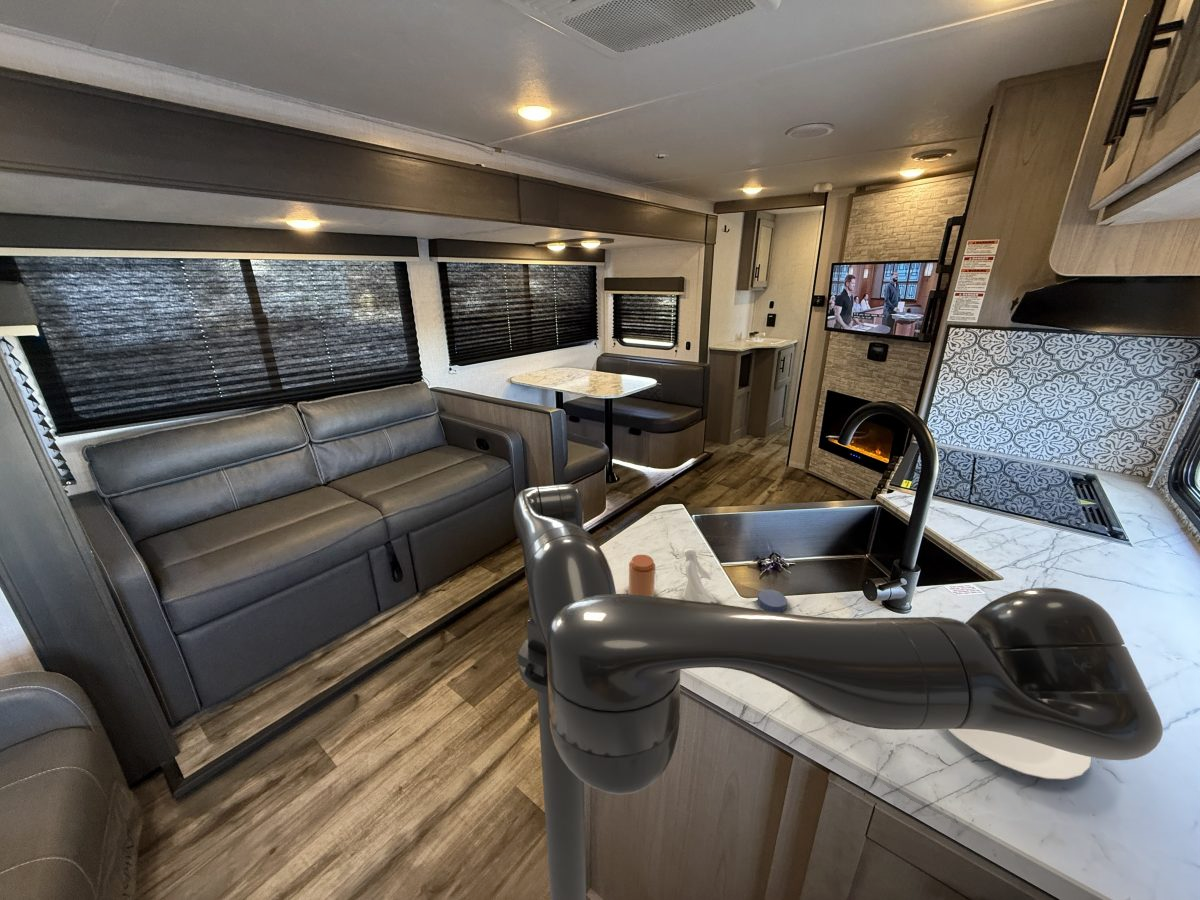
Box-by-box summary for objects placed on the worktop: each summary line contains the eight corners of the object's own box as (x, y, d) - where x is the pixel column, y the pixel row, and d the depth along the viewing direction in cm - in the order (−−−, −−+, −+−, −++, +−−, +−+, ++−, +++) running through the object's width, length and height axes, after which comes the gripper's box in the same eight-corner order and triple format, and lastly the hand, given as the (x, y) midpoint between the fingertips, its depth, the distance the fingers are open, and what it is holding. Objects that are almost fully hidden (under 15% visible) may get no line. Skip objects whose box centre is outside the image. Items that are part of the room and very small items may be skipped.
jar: (647, 607, 97) (648, 571, 94) (623, 599, 100) (624, 563, 96) (657, 593, 101) (659, 557, 98) (635, 585, 104) (636, 550, 101)
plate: (947, 651, 86) (950, 641, 85) (1105, 740, 69) (1111, 729, 68) (889, 703, 75) (892, 692, 74) (1058, 823, 59) (1065, 811, 58)
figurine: (684, 584, 104) (687, 538, 100) (719, 592, 101) (724, 546, 97) (676, 605, 98) (679, 557, 93) (714, 614, 95) (719, 565, 91)
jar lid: (766, 591, 102) (767, 585, 101) (791, 604, 98) (792, 599, 97) (751, 602, 99) (752, 596, 98) (776, 616, 94) (777, 610, 94)
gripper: (1001, 640, 47) (918, 648, 62) (854, 621, 49) (807, 633, 64) (1019, 723, 44) (927, 711, 59) (861, 700, 46) (810, 694, 61)
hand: (864, 671), depth 61 cm, fingers open, 8 cm apart
